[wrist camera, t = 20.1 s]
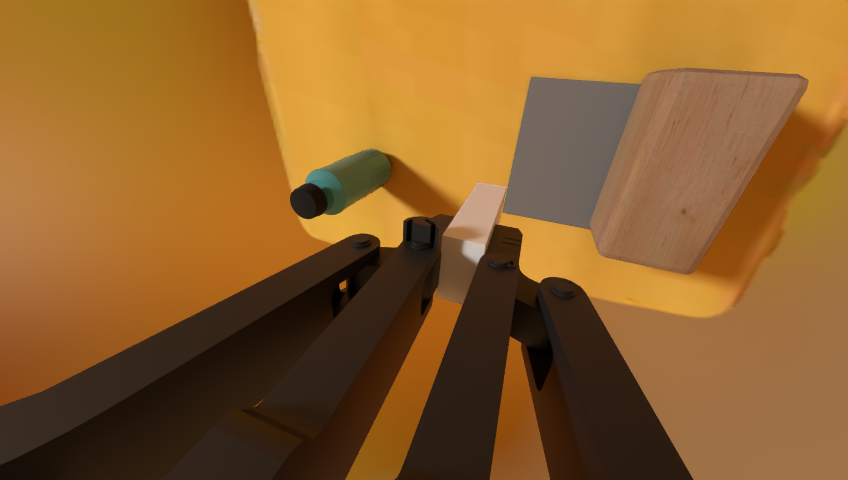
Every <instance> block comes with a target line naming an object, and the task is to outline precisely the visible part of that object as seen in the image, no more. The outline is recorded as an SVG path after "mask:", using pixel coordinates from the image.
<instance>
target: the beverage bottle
mask: <svg viewBox="0 0 848 480" xmlns="http://www.w3.org/2000/svg"><path fill="white" fill-rule="evenodd" d="M362 151H363V150H362ZM344 158H345V157H344ZM390 174H391V166H390V162H389V160H388V159H387V157H386V156H385V155H384V154H383V153H382V152H380V151H378V150H376V149H375V150H373V149H369V150H365V151H363V152H360V153H358V154H355V155H352V156H351V155H350V157H347V158H345V159H342V160H338V161H337V162H336V161H335V163H333V164H330V165H328V166H325V167H323V168H320V169H316V170H314V171H312V172H311V173H310V174H309V175H308V176H307V178H306V182H305V184H303V185H301V186H300V187H299V188H297V189H295V190H294V191H293V192H292V193H291V196H290V202H291V206H292V208H293V210H294V211H295V212H296V213H297V214H298V215H299V216H300V217H302V218H305V219H312V218H314V217H316V216H320V215H322V214H323V213H324V214H327V215H336V214H338V213H340V212H342V211H343V210H344V209H345V208H347V207H349V206H350V205H352V204H353V203H355V202H357V201H358V200H360V199H362V198H363V197H364V198H365V197H366V196H367V195H368V194H369V193H373V192H374V190H375V189H376V190H377V189H378V188H380V187H381V186H383V185H384V184H386V182H387V181H388V179H389V177H390ZM372 191H373V192H372ZM369 195H370V194H369Z"/></svg>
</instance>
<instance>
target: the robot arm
mask: <svg viewBox="0 0 848 480" xmlns="http://www.w3.org/2000/svg"><path fill="white" fill-rule="evenodd" d="M506 188H507V187H506V186H500V185H494V184H488V183H482V182H477V184H476V186H475V187H474V189H473V190H472V192H471V193H470V195H469V196H468V198H467V199H466V201H465V202H464V204H463V205H462V207H461V208H460V210H459V211H458V213H457V214H456V216H455V217H452V216H447V215H442V214H440V215H437V216H435V217H433V218H432V219H431V218H428V217H411V218H407V219H406V220H404V224H403V242H402V243H401V244H400V245H399V246H398V247H397V248H390V247H380V240H379V239H378V238H377V237H375V236H373V235H369V234H356V235H352V236H350V237H347V238H345V239H343V240H341V241H339V242H337V243H335V244H333V245H331V246H329V247H328V248H326V249H324V250H322V251H320V252H318V253H316V254H314V255H312V256H310V257H308V258H306V259H304V260H302V261H300V262H298V263H296V264H294V265H292V266H290V267H288V268H286V269H284V270H282V271H280V272H278V273H276V274H274V275H272V276H270V277H268V278H266V279H264V280H262V281H260V282H258V283H256V284H254V285H252V286H250V287H248V288H246V289H244V290H242V291H240V292H238V293H236V294H234V295H232V296H231V297H228V298H227V299H225V300H223V301H221V302H219V303H217V304H215V305H213V306H211V307H209V308H207V309H205V310H203V311H201V312H199V313H197V314H195V315H193V316H191V317H189V318H187V319H185V320H183V321H181V322H179V323H177V324H175V325H173V326H171V327H169V328H167V329H165V330H163V331H161V332H159V333H157V334H156V335H153V336H151V337H149V338H147V339H145V340H144V341H142V342H140V343H138V344H135V345H134V346H132V347H130V348H128V349H126V350H124V351H122V352H120V353H118V354H116V355H114V356H112V357H110V358H108V359H106V360H104V361H102V362H100V363H98V364H96V365H94V366H92V367H90V368H88V369H86V370H84V371H82V372H81V373H78V374H76V375H74V376H72V377H70V378H69V379H66V380H64V381H62V382H60V383H58V384H56V385H54V386H52V387H50V388H48V389H46V390H44V391H42V392H40V393H37V394H34V395H31V396H28V397H26V398H23V399H20V400H17V401H14V402H11V403H8V404H6V405H3V406H0V480H345V479H346V477H347V475H348V473H349V471H350V469H351V467H352V465H353V463H354V461H355V459H356V457H357V455H358V453H359V450H360V449H361V447H362V445H363V443H364V441H365V439H366V437H367V434H368V433H369V431H370V429H371V427H372V425H373V423H374V420H375V419H376V417H377V415H378V413H379V411H380V408H381V407H382V404H383V403H384V401H385V399H386V396H387V395H388V393H389V390H390V389H391V387H392V385H393V382H394V381H395V378H396V377H397V375H398V373H399V370H400V368H401V366H402V364H403V362H404V360H405V358H406V356H407V354H408V352H409V350H410V348H411V346H412V344H413V342H414V340H415V338H416V336H417V334H418V332H419V330H420V328H421V326H422V324H423V322H424V320H425V318H426V316H427V314H428V312H429V310H430V308H431V306H432V302H433V294H434V292H435V290H436V288H437V293H436V297H438V298H441V299H444V300H448V301H452V302H455V303H459V304H462V305H463V306H462V308H461V311H460V314H459V316H458V319H457V322H456V324H455V327H454V330H453V332H452V335H451V338H450V340H449V343H448V346H447V348H446V351H445V354H444V357H443V359H442V362H441V365H440V368H439V370H438V373H437V375H436V378H435V381H434V384H433V386H432V389H431V392H430V394H429V397H428V400H427V402H426V405H425V408H424V410H423V413H422V416H421V418H420V421H419V424H418V426H417V429H416V432H415V435H414V437H413V440H412V443H411V445H410V448H409V451H408V453H407V456H406V459H405V461H404V464H403V467H402V469H401V471H400V473H399V475H398V477H397V478H396V479H395V480H489V479H490V472H491V465H492V458H493V451H494V444H495V437H496V430H497V423H498V415H499V409H500V402H501V395H502V388H503V381H504V374H505V367H506V359H507V352H508V345H509V338H510V336H511V337H512V338H514V339H516V340H518V341H519V342H521V350H522V354H523V359H524V364H525V368H526V373H527V377H528V381H529V386H530V391H531V395H532V399H533V403H534V409H535V413H536V417H537V422H538V427H539V431H540V436H541V440H542V445H543V449H544V453H545V458H546V462H547V467H548V471H549V476H550V480H693V478H692V477H691V475H690V473H689V471H688V470H687V468H686V466H685V464H684V463H683V461H682V459H681V457H680V456H679V454H678V452H677V451H676V449H675V447H674V445H673V444H672V442H671V440H670V438H669V437H668V435H667V433H666V431H665V430H664V428H663V426H662V425H661V423H660V421H659V419H658V417H657V416H656V414H655V412H654V411H653V409H652V407H651V405H650V404H649V402H648V400H647V398H646V397H645V395H644V393H643V392H642V390H641V388H640V386H639V385H638V383H637V381H636V379H635V378H634V376H633V374H632V372H631V371H630V369H629V367H628V365H627V364H626V362H625V360H624V358H623V357H622V355H621V354H620V352H619V350H618V348H617V346H616V345H615V343H614V341H613V339H612V338H611V336H610V334H609V333H608V331H607V329H606V327H605V326H604V324H603V322H602V320H601V319H600V317H599V315H598V313H597V312H596V310H595V308H594V306H593V305H592V303H591V301H590V300H589V298H588V296H587V294H586V293H585V291H584V290H583V289H582V288H581V287H580V286H578V285H577V284H575V283H574V282H572V281H570V280H567V279H564V278H558V277H548V278H545V279H543V280H542V281H541V282H540V283H538V282H535V281H533V280H531V279H529V278H528V277H526V276H525V275H524V274H523V273H522V272H521V271H520V269H519V257H520V250H521V243H522V236H523V235H522V233H521V232H520V230H519V229H517V228H512V227H507V226H502V225H499V222H500V217H501V212H502V207H503V203H504V198H505V193H506ZM345 280H346V288H344V289H342V290H340V288H339V284H340V283H341V282H343V281H345ZM263 399H264V400H263ZM262 400H263V401H262ZM260 401H262V402H261V403H259V402H260ZM258 403H259V404H258ZM257 404H258V405H257ZM255 405H257V406H256V407H254V406H255ZM253 407H254V408H253Z"/></svg>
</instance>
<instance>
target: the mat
mask: <svg viewBox="0 0 848 480" xmlns="http://www.w3.org/2000/svg"><path fill="white" fill-rule="evenodd" d="M640 86H641V85H640V84H626V83H611V82H597V81H583V80H569V79H554V78H540V77H531V80H530V84H529V89H528V94H527V99H526V103H525V108H524V113H523V118H522V122H521V127H520V132H519V137H518V141H517V146H516V151H515V156H514V160H513V165H512V170H511V175H510V179H509V184H508V189H507V194H506V198H505V203H504V208H503V213H509V214H514V215H519V216H524V217H529V218H535V219H540V220H545V221H550V222H556V223H561V224H566V225H571V226H577V227H582V228H587V229H591V228H590V220H591V217H592V215H593V212H594V209H595V207H596V204H597V201H598V199H599V196H600V193H601V191H602V188H603V185H604V183H605V180H606V177H607V175H608V172H609V169H610V167H611V164H612V161H613V158H614V156H615V153H616V150H617V148H618V145H619V142H620V140H621V137H622V134H623V132H624V129H625V126H626V124H627V121H628V118H629V116H630V113H631V110H632V108H633V105H634V102H635V100H636V97H637V94H638V91H639V89H640Z"/></svg>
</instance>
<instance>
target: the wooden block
mask: <svg viewBox="0 0 848 480" xmlns="http://www.w3.org/2000/svg"><path fill="white" fill-rule="evenodd" d="M807 85H808V80H807V79H805V78H804V77H802V76H800V75H798V74H783V73H766V72H749V71H731V70H714V69H697V68H679V69H671V70H662V71H656V72H652V73H649V74H648V75H647V76H646V77H645V78H644V79H643V81H642V83H641V86H640V89H639V91H638V94H637V97H636V100H635V102H634V105H633V108H632V110H631V113H630V116H629V118H628V121H627V124H626V126H625V129H624V132H623V134H622V137H621V140H620V142H619V145H618V148H617V150H616V153H615V156H614V158H613V161H612V164H611V167H610V169H609V172H608V175H607V177H606V180H605V183H604V185H603V188H602V191H601V193H600V196H599V199H598V201H597V204H596V207H595V209H594V212H593V215H592V217H591V220H590V228H591V231H592V234H593V237H594V241H595V244H596V247H597V250H598V253H599V254H600V255H602V256H604V257H606V258H611V259H615V260H620V261H625V262H629V263H634V264H639V265H643V266H648V267H653V268H657V269H662V270H667V271H671V272H676V273H681V274H691V273H692V272H694V271H695V270H696V268H697V267H698V265H699V263H700V262H701V260H702V258H703V257H704V255H705V254H706V252H707V250H708V249H709V247H710V245H711V244H712V242H713V240H714V239H715V237H716V236H717V234H718V232H719V231H720V229H721V227H722V226H723V224H724V223H725V221H726V219H727V218H728V216H729V214H730V213H731V211H732V210H733V208H734V206H735V205H736V203H737V201H738V200H739V198H740V197H741V195H742V193H743V192H744V190H745V188H746V187H747V185H748V184H749V182H750V180H751V179H752V177H753V175H754V174H755V172H756V171H757V169H758V167H759V166H760V164H761V162H762V161H763V159H764V158H765V156H766V154H767V153H768V151H769V149H770V148H771V146H772V145H773V143H774V141H775V140H776V138H777V136H778V135H779V133H780V132H781V130H782V128H783V127H784V125H785V123H786V122H787V120H788V119H789V117H790V115H791V114H792V112H793V110H794V109H795V107H796V106H797V104H798V102H799V101H800V99H801V97H802V96H803V94H804V93H805V91H806V89H807Z"/></svg>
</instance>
